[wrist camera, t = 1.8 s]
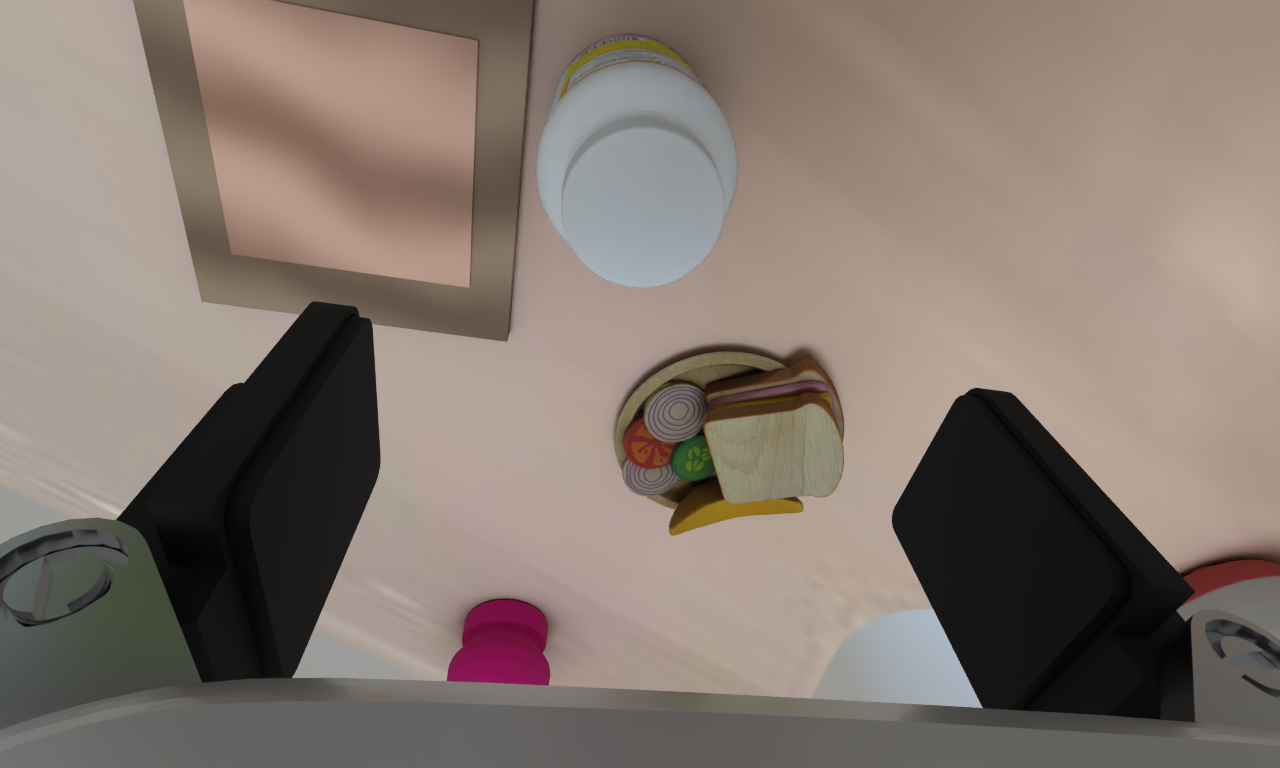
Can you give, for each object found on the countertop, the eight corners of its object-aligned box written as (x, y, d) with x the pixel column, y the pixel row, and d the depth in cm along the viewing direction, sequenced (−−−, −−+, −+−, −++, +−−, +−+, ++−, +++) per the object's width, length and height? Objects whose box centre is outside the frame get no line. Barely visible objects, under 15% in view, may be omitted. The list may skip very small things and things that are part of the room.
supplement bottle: (651, 214, 31) (674, 353, 21) (528, 142, 29) (484, 255, 18) (732, 87, 28) (808, 174, 17) (601, -5, 26) (598, 30, 15)
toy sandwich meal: (597, 358, 36) (596, 409, 32) (836, 323, 35) (864, 370, 32) (631, 512, 43) (633, 568, 39) (830, 485, 43) (852, 539, 39)
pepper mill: (443, 605, 47) (357, 955, 31) (535, 585, 47) (496, 934, 30) (481, 658, 51) (423, 992, 35) (566, 641, 51) (547, 975, 34)
